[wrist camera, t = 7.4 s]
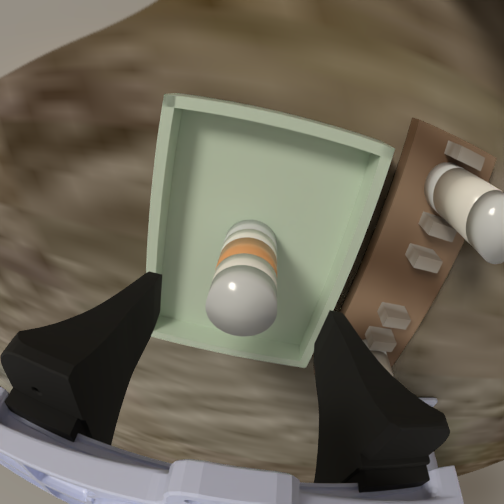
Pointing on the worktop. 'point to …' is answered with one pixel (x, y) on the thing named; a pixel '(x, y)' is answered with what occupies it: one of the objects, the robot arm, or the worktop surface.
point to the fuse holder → (409, 244)
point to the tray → (257, 216)
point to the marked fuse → (245, 281)
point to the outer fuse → (469, 208)
